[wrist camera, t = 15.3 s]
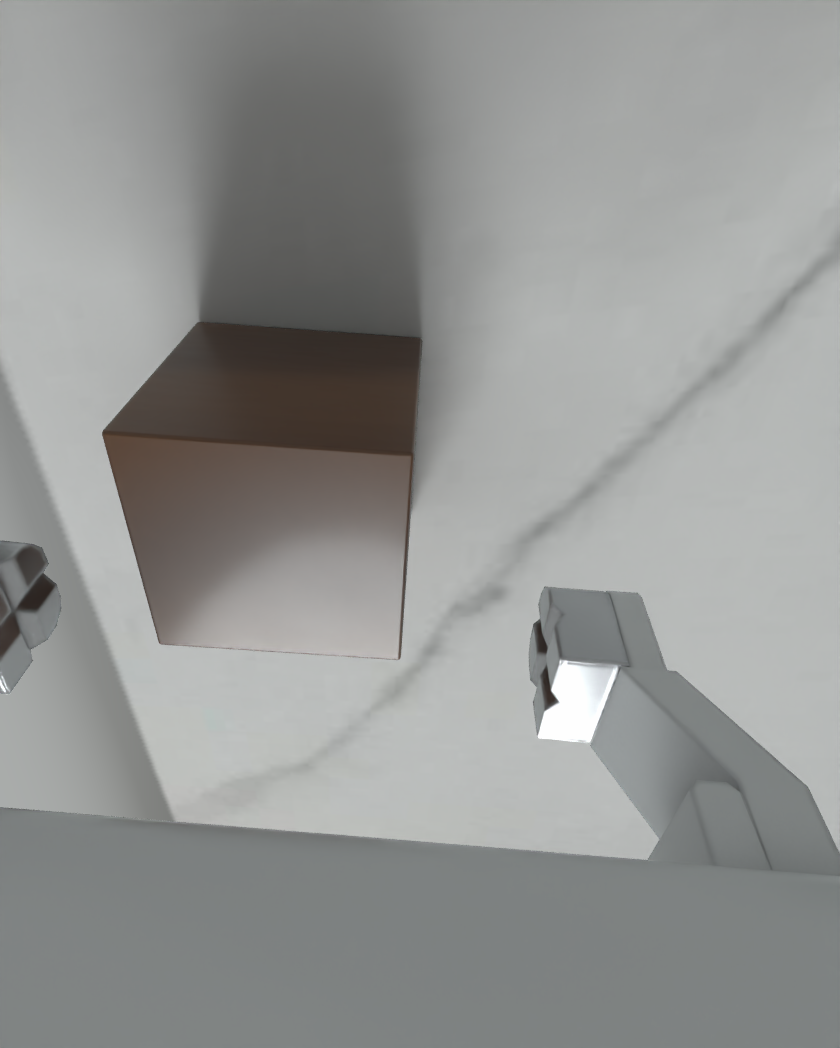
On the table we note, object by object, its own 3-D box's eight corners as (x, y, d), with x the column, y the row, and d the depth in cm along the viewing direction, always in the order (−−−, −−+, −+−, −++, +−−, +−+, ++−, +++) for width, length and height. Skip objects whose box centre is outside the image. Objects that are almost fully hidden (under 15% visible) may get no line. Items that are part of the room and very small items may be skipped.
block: (196, 320, 13) (99, 431, 9) (423, 337, 13) (414, 453, 9) (225, 504, 15) (158, 645, 12) (410, 516, 15) (400, 661, 12)
